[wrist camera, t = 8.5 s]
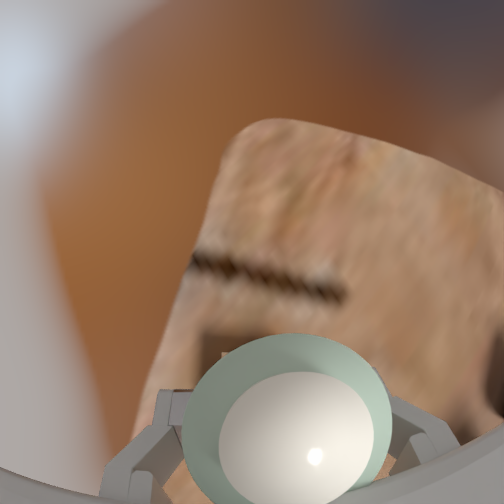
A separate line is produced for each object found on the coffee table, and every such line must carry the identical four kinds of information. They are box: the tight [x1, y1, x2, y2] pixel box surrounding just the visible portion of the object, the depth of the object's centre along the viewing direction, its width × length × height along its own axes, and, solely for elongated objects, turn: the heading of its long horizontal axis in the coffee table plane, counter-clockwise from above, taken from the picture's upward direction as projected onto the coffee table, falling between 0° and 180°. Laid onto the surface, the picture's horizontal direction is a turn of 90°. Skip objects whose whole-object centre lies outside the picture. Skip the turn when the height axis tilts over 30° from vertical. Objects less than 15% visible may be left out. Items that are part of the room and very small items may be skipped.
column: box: [181, 333, 392, 504], centre depth 10 cm, size 4×4×11 cm
